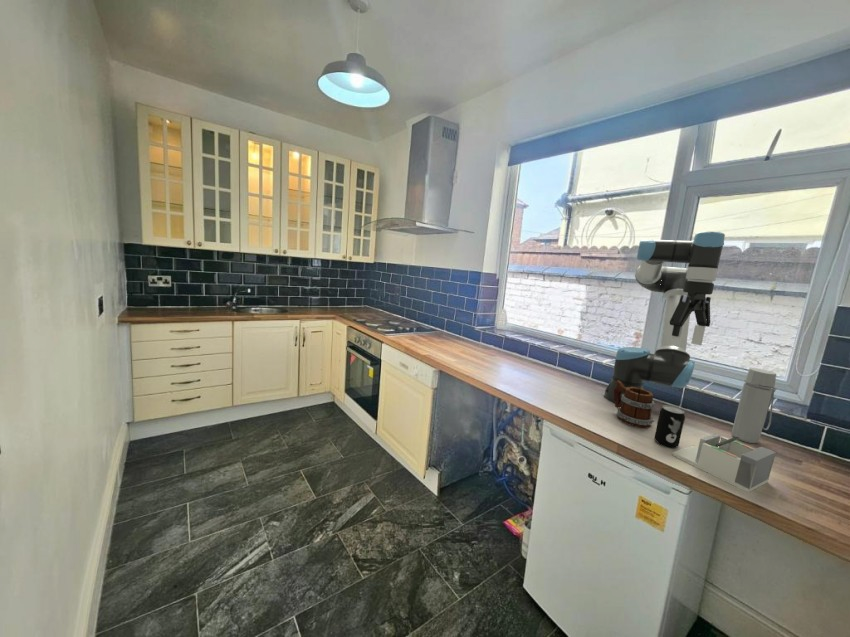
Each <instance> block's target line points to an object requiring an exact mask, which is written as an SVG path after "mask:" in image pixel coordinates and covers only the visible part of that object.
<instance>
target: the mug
mask: <svg viewBox="0 0 850 637" xmlns="http://www.w3.org/2000/svg"><path fill="white" fill-rule="evenodd" d="M616 383H617V387H615V389H614V400H615V403H614V407H615V408H617V412H616V415H617V418H618V419H619V421H620V422H622V423H624V424H626V425H629V426H632V427H635V428H641V429H644V428H645V429H646V428H650V427H651V425H652V424H653V422H654V421H655V420H654V419H653V417H652V410H653V408H655V406H656V403H655V401H654V393H652V392H651V391H649V390H647V389H645V388H643V389H639V388H636V387H627V388H626V387H624V386H623V384H622V382H621V381H620V380H617V381H616ZM622 392H624V394H622V396H621V395H620V394H621V393H622ZM621 400H622V402H621Z"/></svg>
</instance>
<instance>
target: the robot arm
mask: <svg viewBox="0 0 850 637" xmlns="http://www.w3.org/2000/svg"><path fill="white" fill-rule="evenodd" d="M725 237H726V235H725V233H724V232H721V231H710V230H709V231H699V232H696V233H695V234H694V237H693V240H670V239H669V240H668V239H667V240H666V239H641V240H640V241H639V245H638V250H637V255H636V259H637V260H638V261H641V262H640V264H639V266H638V267H637V269H636V271H635V273H634V277H635V281H636V282H637V283H638V284H639V285H640V286H641V287H642V288H644V289H646V290H648V291H651V292H655V293H663V298H664V299H665V300H666V305H665V311H664V320H663V325H662V326H663V327H662V335H661V340H660V346H659V348H658V349H656V350H655V351H654V353H651V351H650V350H649V349H648V348H643V347H638V346H636V347H635V346H625V347H624V346H623V347H621V348H618V349H617V351H616V355H615V357H614V359H615V362H614V365H613V371H612V376H611V380H610V382H609V383H608V385H607V387H606V388H605V389H604V395H603V397H604V398H605V399H607V400H608V401H610V402H612V403H614V404H615V400H614V389H615V387H617V383H616V381H617V380H620V381H621V382H622V384H623V386H624V387H626V388H627V387H636V388H639V389H644V382H649V383H654V384H658V385H663V386H669V387H671V388H673V387H674V388H678V389H684V388H686V387H687V386H688V385H689V382H690V380H691V378H692V376H693V372H694V369H695V361H694V360H692V359H691V355H690V353H688V351H687V344H688V336H689V328H690V325H689V324H690V317H691V314H692V313H693V312H694V316H695V320H696V321H695V322H696V324H695V325H694V330H693V333H692V338H691V342H690V343H691V344H692V345H697V346H702V344H703V341H704V337H705V336H704V335H705V331H706V327H707V328H708V327H710V326H711V300H712V297H711V296H706V295H712V294H713V291H714V287H715V284H714V282H716V280H717V275H718V268H719V265H720V264H719V263H720V259H721V255H722V252H723V247H724V245H725ZM665 263H680V264H688V265H687V267H675V266H664V264H665ZM661 280H662V281H661ZM660 284H661V285H660ZM622 394H624V392H622V393H621V394H620V395H621V396H622ZM621 402H622V400H621Z"/></svg>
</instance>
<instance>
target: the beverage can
mask: <svg viewBox="0 0 850 637" xmlns="http://www.w3.org/2000/svg"><path fill="white" fill-rule="evenodd" d="M685 419H686V417H685V410H683V409H682V408H679V407H677V406H674V405H673V406H672V405H669V404H667V405H666V404H665V405H662V408H660V410H659V414H658V419H657V423H656V427H655V432H654V437H653V438H654V440H655V442H656V443H657V444H659V445H661V446H663V447H665V446H666V448H670V449H675V448H677V447H679V445H680V441H681V436H682V432H683V428H684V423H685Z"/></svg>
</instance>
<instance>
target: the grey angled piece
mask: <svg viewBox="0 0 850 637" xmlns="http://www.w3.org/2000/svg"><path fill="white" fill-rule="evenodd" d="M720 440H721V435H720V434H717V433H714V434H710V435H708V436H704V437H702V438H700V440H699V443H698V446H697V447H698V451H697V456H696V461H699V457H700V453H701V448H702V444H703V443H706V444H708V445H711V446H715V447H717V448H719V446H721V445H723V447H722V450H724V451H726V452H729V449H730V445H731V443H730V442H732V441H737V440H739V438H738V437H734V436H733V437H731V438H728V440H725V441H723V442H720Z"/></svg>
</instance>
